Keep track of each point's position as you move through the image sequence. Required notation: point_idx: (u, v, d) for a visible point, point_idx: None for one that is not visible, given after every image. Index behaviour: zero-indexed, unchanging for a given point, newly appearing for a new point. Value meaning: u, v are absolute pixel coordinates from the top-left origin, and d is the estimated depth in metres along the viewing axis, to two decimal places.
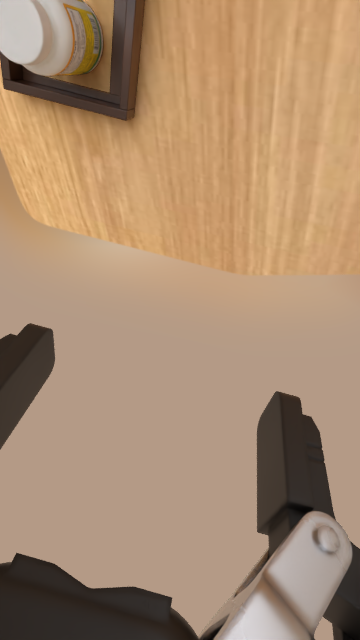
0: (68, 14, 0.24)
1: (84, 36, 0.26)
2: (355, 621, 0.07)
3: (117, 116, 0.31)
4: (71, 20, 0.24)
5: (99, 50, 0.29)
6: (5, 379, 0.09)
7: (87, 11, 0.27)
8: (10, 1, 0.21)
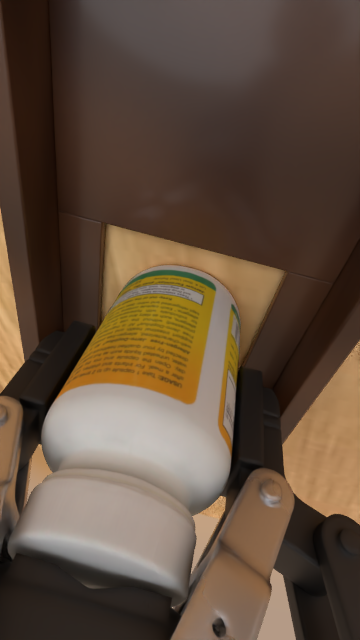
0: (228, 441, 0.09)
1: None
2: (297, 567, 0.08)
3: None
4: (231, 444, 0.09)
5: None
6: (60, 372, 0.10)
7: (229, 320, 0.12)
8: (90, 558, 0.06)
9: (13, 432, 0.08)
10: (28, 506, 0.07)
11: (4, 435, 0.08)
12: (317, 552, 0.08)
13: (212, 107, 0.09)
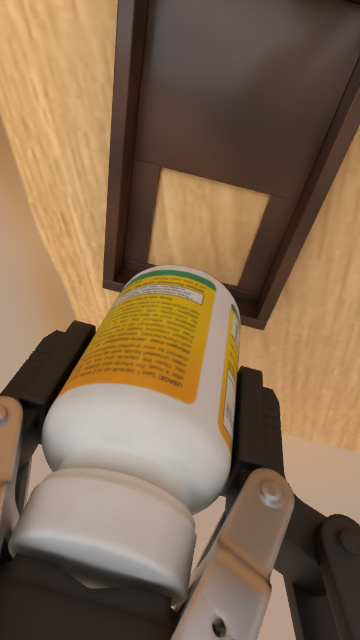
0: (228, 440, 0.09)
1: None
2: (297, 567, 0.08)
3: (252, 325, 0.23)
4: (230, 444, 0.09)
5: None
6: (61, 372, 0.10)
7: (229, 320, 0.12)
8: (90, 557, 0.06)
9: (13, 432, 0.08)
10: (29, 505, 0.07)
11: (4, 435, 0.08)
12: (317, 552, 0.08)
13: (228, 95, 0.17)
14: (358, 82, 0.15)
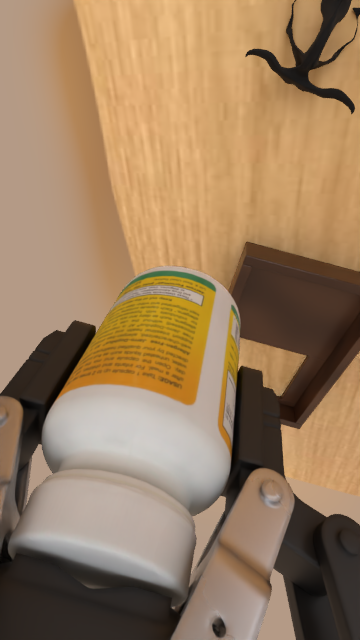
0: (228, 442, 0.09)
1: None
2: (297, 567, 0.08)
3: (292, 426, 0.36)
4: (230, 445, 0.09)
5: None
6: (60, 372, 0.10)
7: (229, 321, 0.12)
8: (90, 559, 0.06)
9: (13, 432, 0.08)
10: (28, 507, 0.07)
11: (4, 435, 0.08)
12: (318, 552, 0.08)
13: (287, 311, 0.30)
14: None
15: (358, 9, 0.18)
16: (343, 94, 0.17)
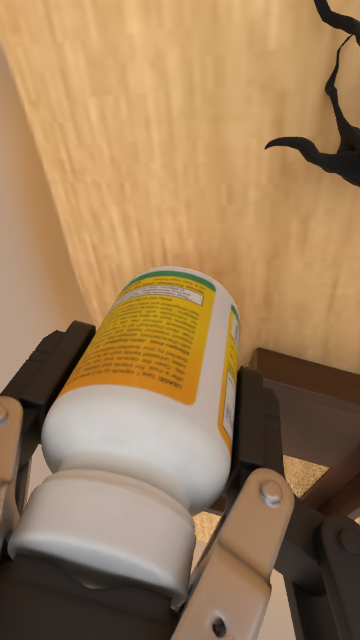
0: (227, 442, 0.09)
1: None
2: (297, 567, 0.08)
3: None
4: (230, 445, 0.09)
5: None
6: (60, 372, 0.10)
7: (229, 321, 0.12)
8: (90, 559, 0.06)
9: (13, 432, 0.08)
10: (28, 507, 0.07)
11: (4, 435, 0.08)
12: (318, 552, 0.08)
13: (309, 424, 0.23)
14: None
15: None
16: None
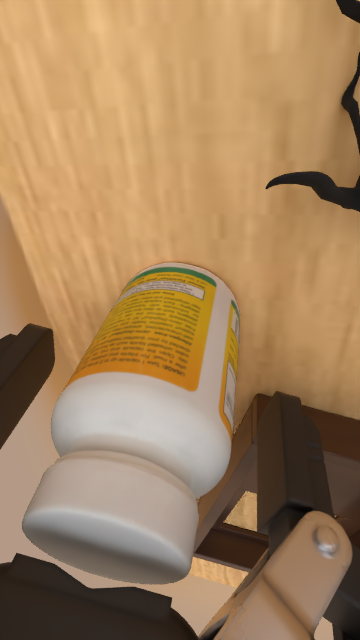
0: (228, 427, 0.09)
1: None
2: (355, 621, 0.07)
3: None
4: (230, 431, 0.09)
5: None
6: (5, 379, 0.09)
7: (229, 315, 0.12)
8: (100, 531, 0.07)
9: None
10: (41, 485, 0.07)
11: None
12: None
13: None
14: None
15: None
16: None
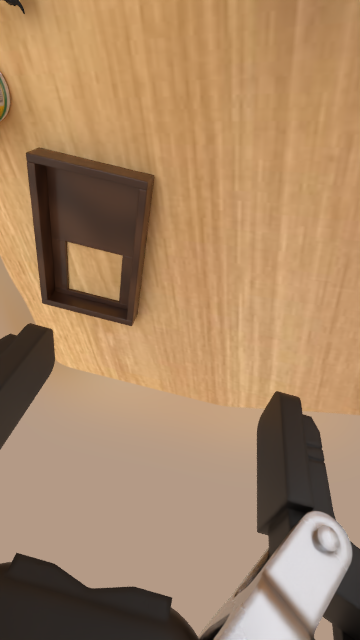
0: None
1: None
2: (355, 621, 0.07)
3: (125, 323, 0.42)
4: None
5: (5, 102, 0.30)
6: (5, 379, 0.09)
7: None
8: None
9: None
10: None
11: None
12: None
13: (90, 212, 0.36)
14: (137, 214, 0.33)
15: None
16: None
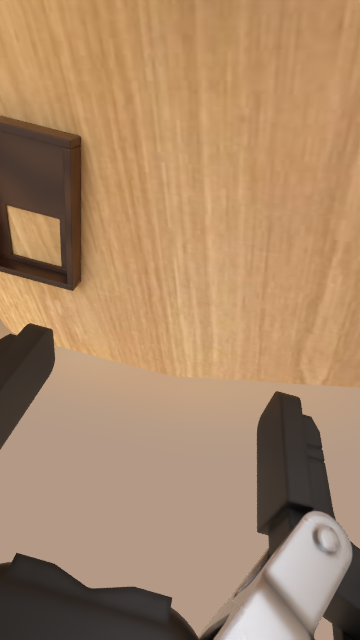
0: None
1: None
2: (355, 621, 0.07)
3: (66, 288, 0.43)
4: None
5: None
6: (5, 379, 0.09)
7: None
8: None
9: None
10: None
11: None
12: None
13: (24, 174, 0.37)
14: None
15: None
16: None
